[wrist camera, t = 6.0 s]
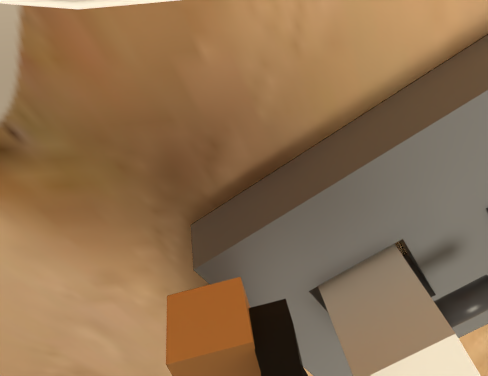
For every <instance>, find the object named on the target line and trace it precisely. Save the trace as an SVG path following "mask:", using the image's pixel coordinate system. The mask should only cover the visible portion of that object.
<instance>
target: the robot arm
mask: <svg viewBox="0 0 488 376" xmlns="http://www.w3.org/2000/svg"><path fill="white" fill-rule="evenodd" d="M249 315H250V321H251V327H252V333H253V339H254V345H255V349H254V350H255V354H256V357H257V361H258V364H259V368H260V371H261V376H308V375H307V373H306V371H305V370H304V368H303V364H302V360H301V355H300V351H299V346H298V342H297V338H296V333H295V329H294V324H293V321H292V318H291V314H290V311H289V308H288V305H287V301H286V299H282V300H278V301H274V302H270V303H266V304H263V305H259V306H255V307H251V308H249Z"/></svg>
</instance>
